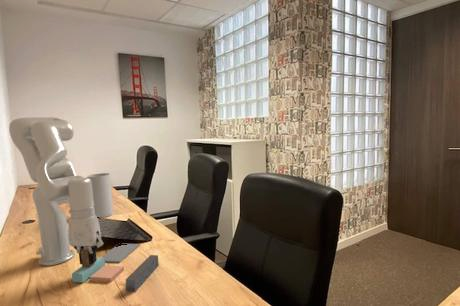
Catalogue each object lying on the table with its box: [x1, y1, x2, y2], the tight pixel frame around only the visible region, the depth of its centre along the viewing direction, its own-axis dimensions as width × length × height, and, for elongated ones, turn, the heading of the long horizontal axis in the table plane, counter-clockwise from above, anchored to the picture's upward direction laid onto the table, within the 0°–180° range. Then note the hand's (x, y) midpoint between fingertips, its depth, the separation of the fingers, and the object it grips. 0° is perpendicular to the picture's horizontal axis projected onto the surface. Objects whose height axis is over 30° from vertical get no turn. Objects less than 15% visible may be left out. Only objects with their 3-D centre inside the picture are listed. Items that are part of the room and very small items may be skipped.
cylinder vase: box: [86, 172, 114, 219], centre depth 173 cm, size 12×12×25 cm
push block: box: [71, 246, 106, 283], centre depth 102 cm, size 4×12×9 cm, turn 169°
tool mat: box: [100, 243, 141, 264], centre depth 119 cm, size 10×16×1 cm, turn 169°
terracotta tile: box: [89, 264, 125, 283], centre depth 101 cm, size 8×8×2 cm
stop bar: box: [125, 254, 160, 293], centre depth 98 cm, size 3×17×4 cm, turn 169°
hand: (88, 262), depth 102 cm, fingers closed on push block, 3 cm apart
